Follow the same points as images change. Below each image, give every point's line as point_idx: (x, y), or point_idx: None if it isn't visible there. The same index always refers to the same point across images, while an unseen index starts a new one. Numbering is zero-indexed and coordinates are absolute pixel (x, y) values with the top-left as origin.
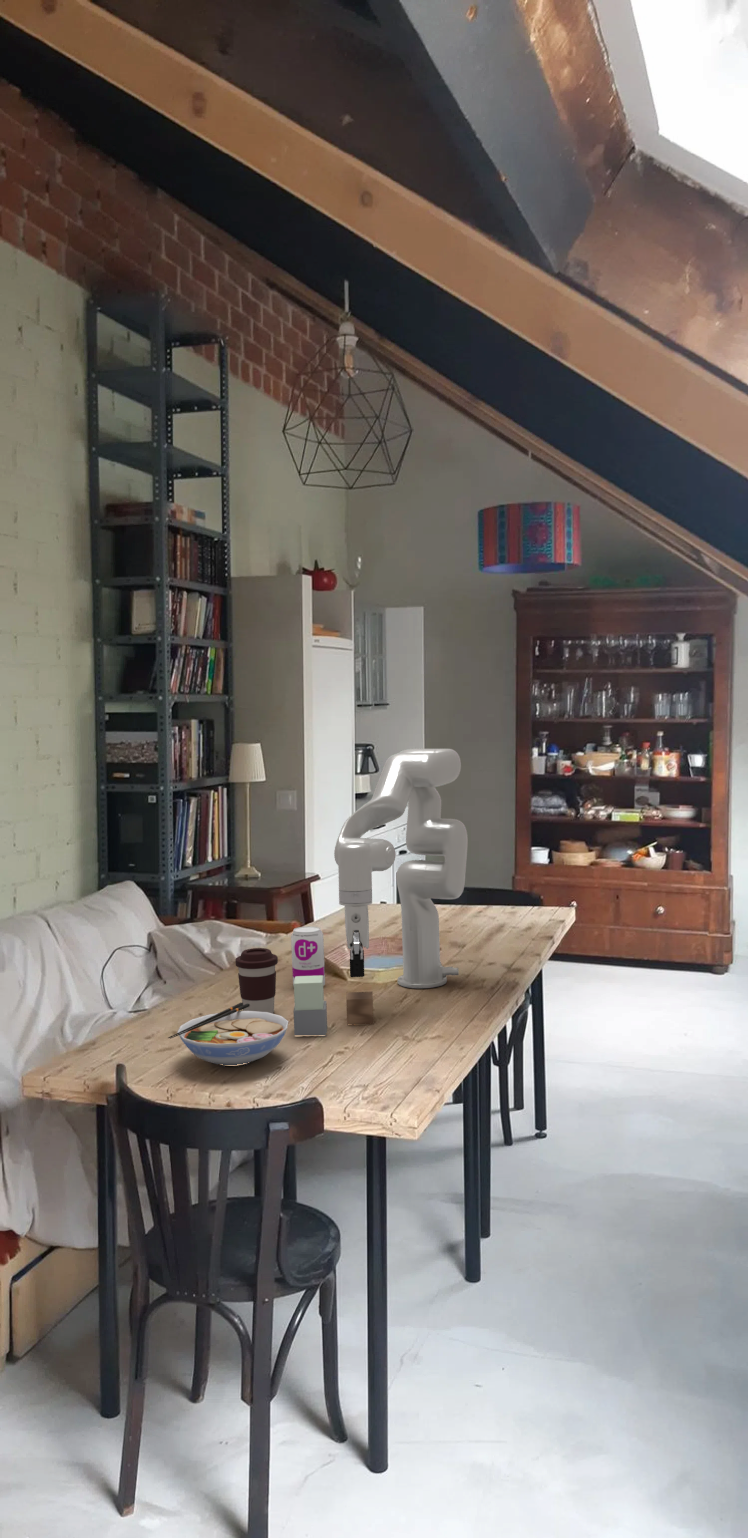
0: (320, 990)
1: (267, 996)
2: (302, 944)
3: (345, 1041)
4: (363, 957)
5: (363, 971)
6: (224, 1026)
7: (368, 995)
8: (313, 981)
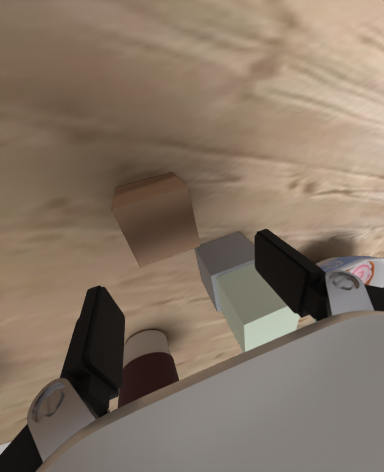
0: None
1: (164, 356)
2: None
3: (265, 195)
4: (88, 322)
5: (278, 239)
6: (310, 319)
7: (158, 207)
8: (290, 315)
